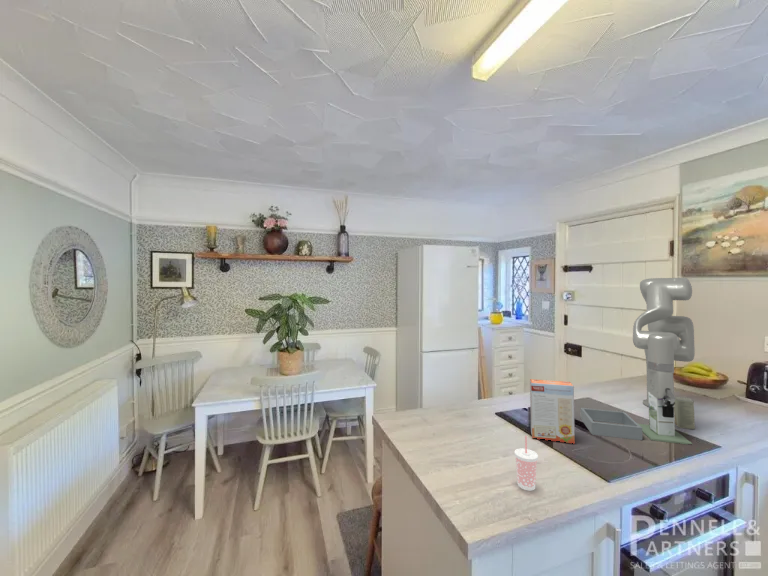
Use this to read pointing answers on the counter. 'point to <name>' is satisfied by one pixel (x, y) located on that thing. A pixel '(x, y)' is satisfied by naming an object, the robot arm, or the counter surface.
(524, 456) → the beverage cup
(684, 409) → the box
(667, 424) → the syrup box
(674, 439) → the mat
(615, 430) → the parts bin
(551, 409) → the cracker box
